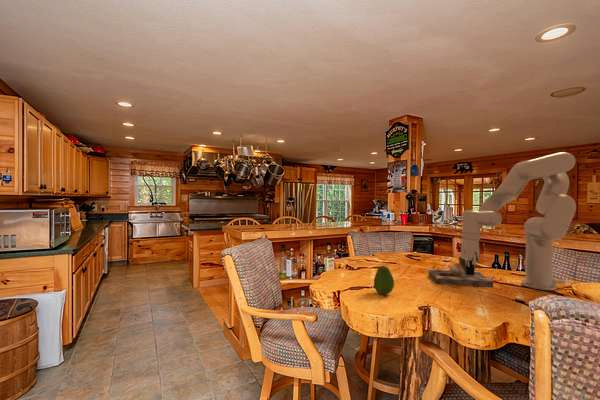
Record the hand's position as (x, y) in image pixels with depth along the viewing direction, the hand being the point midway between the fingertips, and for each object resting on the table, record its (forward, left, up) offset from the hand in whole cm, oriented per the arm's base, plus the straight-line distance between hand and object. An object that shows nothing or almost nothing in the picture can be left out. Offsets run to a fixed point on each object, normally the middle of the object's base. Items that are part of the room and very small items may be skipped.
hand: (469, 274), depth 138 cm
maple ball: (+5, -1, +2) cm, 6 cm away
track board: (+5, -1, -4) cm, 6 cm away
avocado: (+43, +26, -4) cm, 50 cm away
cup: (-5, -19, -4) cm, 20 cm away
